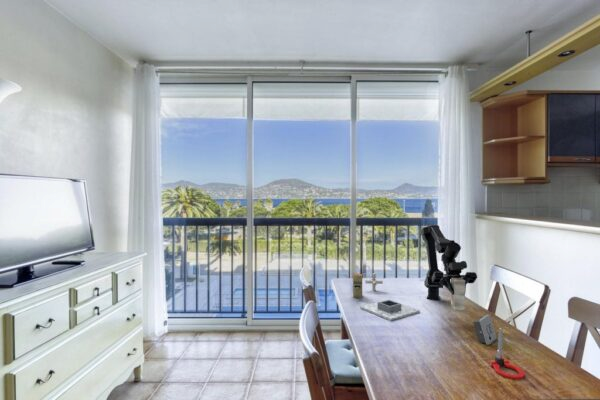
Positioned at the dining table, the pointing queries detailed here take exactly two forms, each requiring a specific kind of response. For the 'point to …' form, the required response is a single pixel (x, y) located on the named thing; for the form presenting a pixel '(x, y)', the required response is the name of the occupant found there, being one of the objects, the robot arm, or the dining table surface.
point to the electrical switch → (485, 329)
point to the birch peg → (458, 294)
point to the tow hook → (504, 362)
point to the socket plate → (389, 309)
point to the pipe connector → (373, 282)
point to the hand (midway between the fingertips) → (459, 294)
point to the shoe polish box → (357, 285)
